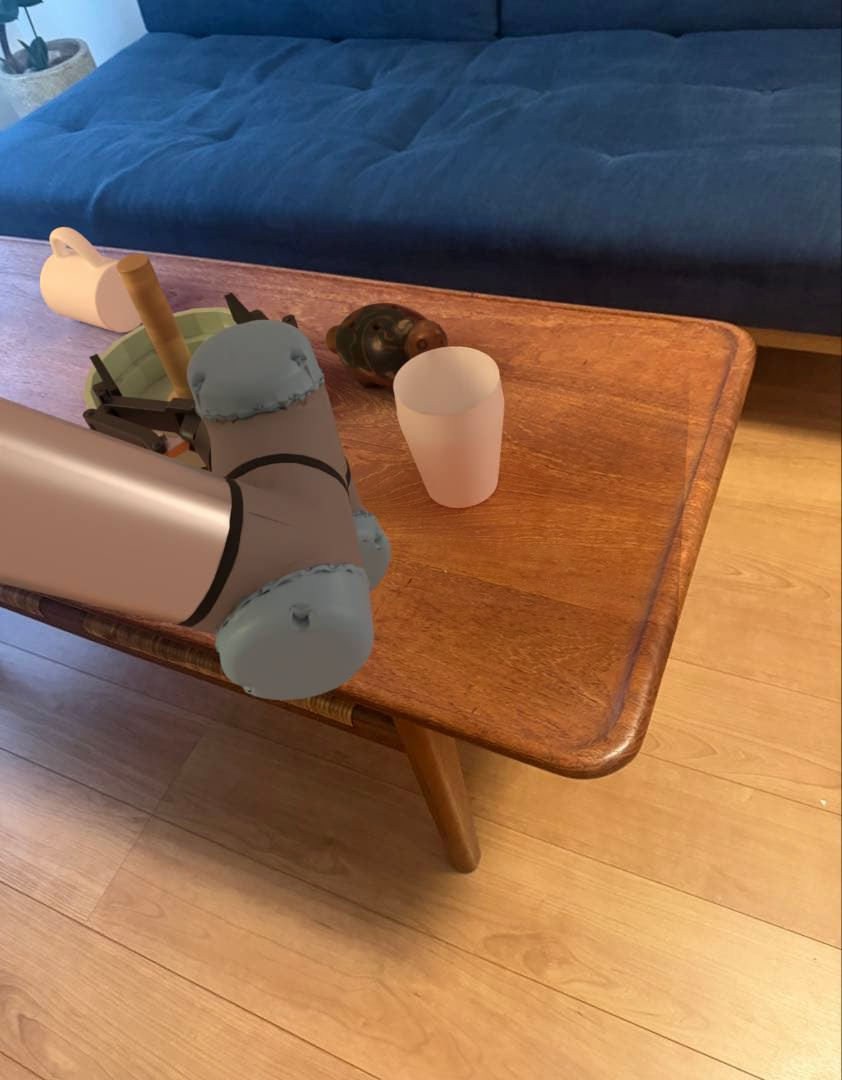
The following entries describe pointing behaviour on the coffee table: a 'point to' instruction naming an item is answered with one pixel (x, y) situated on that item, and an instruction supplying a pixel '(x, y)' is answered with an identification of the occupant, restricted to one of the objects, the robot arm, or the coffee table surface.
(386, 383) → the decorative turtle
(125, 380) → the bowl
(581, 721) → the coffee table surface
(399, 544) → the coffee table surface
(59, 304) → the mug
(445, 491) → the cup
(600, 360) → the coffee table surface
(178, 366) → the wooden peg stand
